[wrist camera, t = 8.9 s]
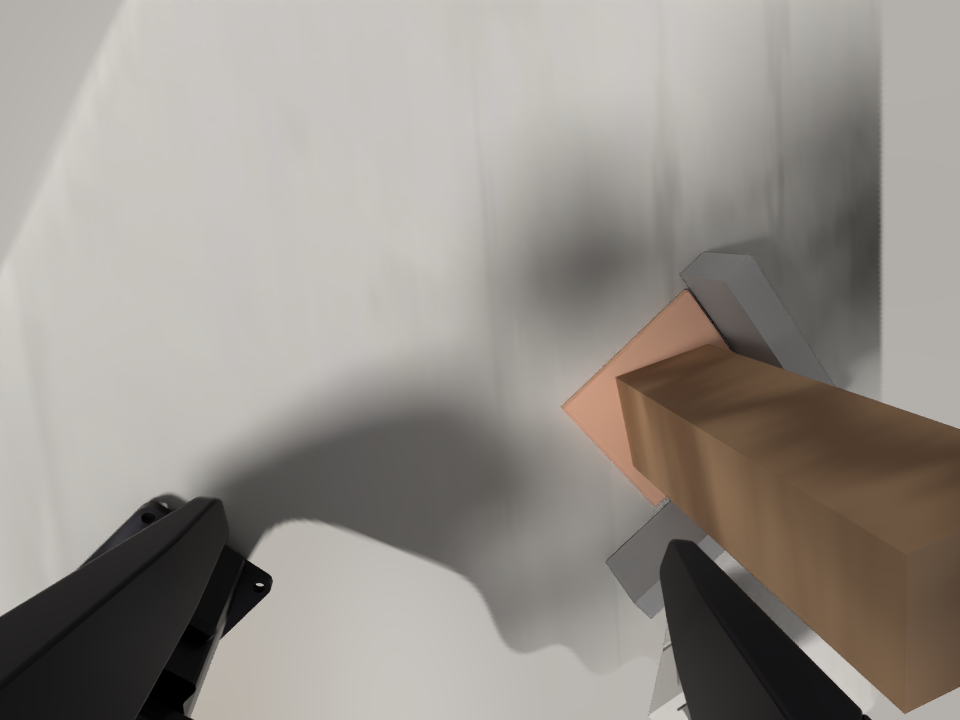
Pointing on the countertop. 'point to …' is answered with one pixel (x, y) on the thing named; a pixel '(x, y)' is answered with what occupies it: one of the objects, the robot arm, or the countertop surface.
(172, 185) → the countertop surface
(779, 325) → the corner bracket
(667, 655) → the die
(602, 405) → the pad
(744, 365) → the walnut block
